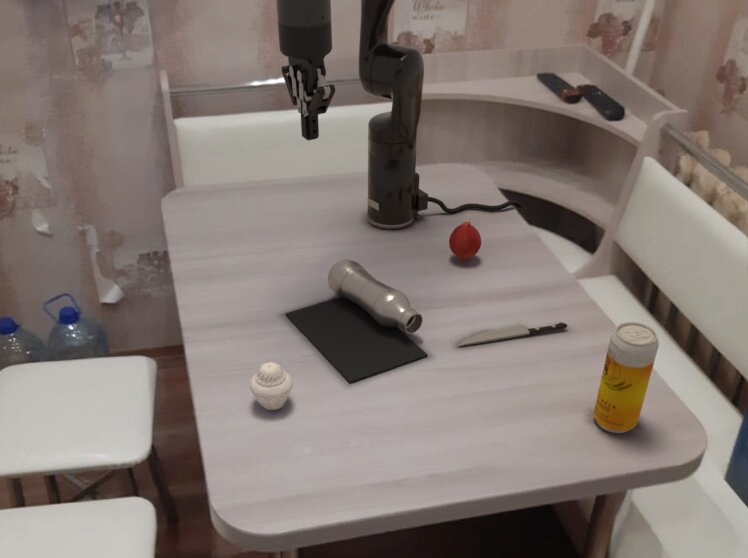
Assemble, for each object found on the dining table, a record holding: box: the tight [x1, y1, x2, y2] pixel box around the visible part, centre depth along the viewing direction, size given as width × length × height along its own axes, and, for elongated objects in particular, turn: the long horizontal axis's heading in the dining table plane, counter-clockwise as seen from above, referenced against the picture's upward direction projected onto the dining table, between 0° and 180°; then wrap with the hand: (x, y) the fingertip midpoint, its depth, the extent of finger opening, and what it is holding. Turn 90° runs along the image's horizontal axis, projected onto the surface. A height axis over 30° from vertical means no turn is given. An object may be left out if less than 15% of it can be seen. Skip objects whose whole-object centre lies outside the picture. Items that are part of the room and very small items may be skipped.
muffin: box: [249, 361, 293, 411], centre depth 118 cm, size 6×6×7 cm
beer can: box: [593, 321, 660, 434], centre depth 112 cm, size 6×6×15 cm
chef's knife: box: [457, 322, 568, 347], centre depth 133 cm, size 19×1×3 cm
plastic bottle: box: [327, 258, 424, 335], centre depth 136 cm, size 6×7×20 cm
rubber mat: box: [284, 296, 428, 384], centre depth 133 cm, size 14×22×1 cm, turn 30°
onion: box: [448, 219, 482, 261], centre depth 151 cm, size 6×6×8 cm
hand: (310, 137), depth 126 cm, fingers closed
